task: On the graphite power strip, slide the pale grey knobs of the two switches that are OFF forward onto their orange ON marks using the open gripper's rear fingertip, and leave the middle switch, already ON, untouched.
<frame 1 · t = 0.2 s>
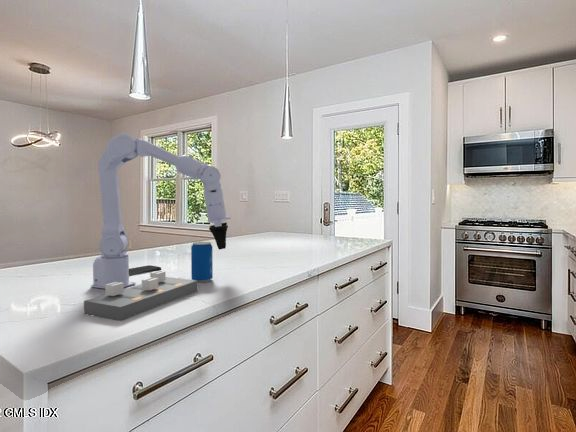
hand: (222, 247, 110), 11 cm above the counter, tool pointing down, fingers open, 7 cm apart
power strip: (147, 301, 87), on the counter
beverage can: (202, 281, 110), on the counter
switch c: (157, 276, 94), point 5 cm above the counter, slide at 0.0 cm
switch a: (114, 288, 81), point 5 cm above the counter, slide at 0.0 cm
switch b: (150, 283, 86), point 5 cm above the counter, slide at 4.0 cm
phone: (137, 273, 122), on the counter
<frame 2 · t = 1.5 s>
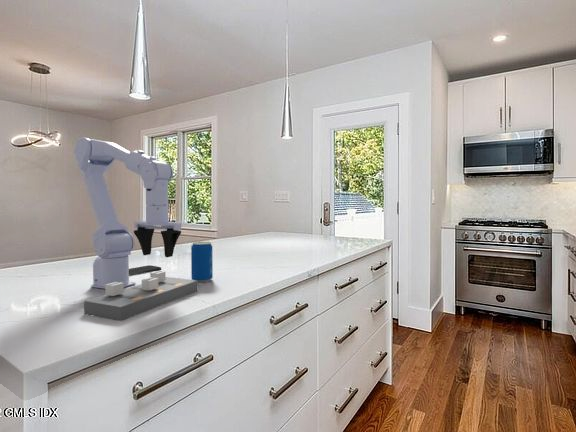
hand: (157, 255, 94), 10 cm above the counter, tool pointing down, fingers open, 7 cm apart
nothing on the counter moved.
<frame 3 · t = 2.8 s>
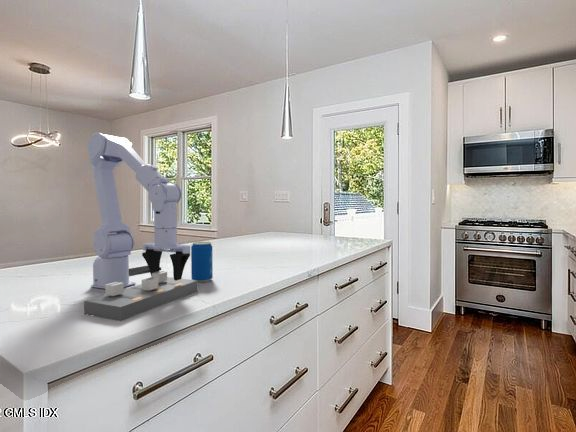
hand: (166, 278, 93), 4 cm above the counter, tool pointing down, fingers open, 7 cm apart
switch c: (159, 276, 94), point 5 cm above the counter, slide at 0.6 cm, touching gripper
everything else where it was.
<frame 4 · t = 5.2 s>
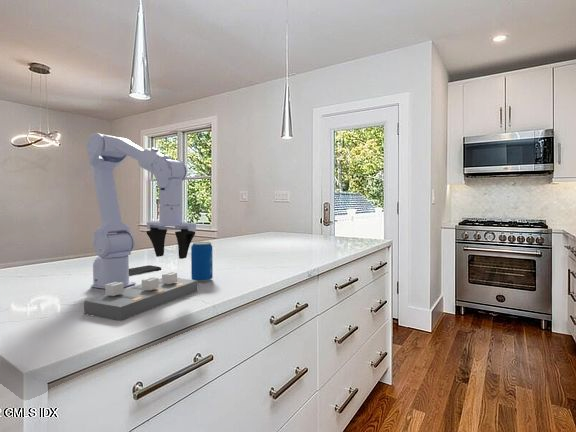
hand: (171, 257, 91), 10 cm above the counter, tool pointing down, fingers open, 7 cm apart
switch c: (169, 277, 93), point 5 cm above the counter, slide at 4.0 cm
everything else where it was.
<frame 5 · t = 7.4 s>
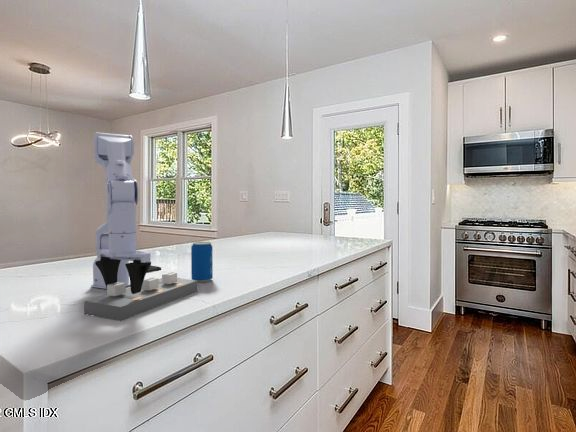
hand: (123, 291, 80), 4 cm above the counter, tool pointing down, fingers open, 7 cm apart
switch a: (116, 288, 81), point 5 cm above the counter, slide at 0.6 cm, touching gripper
everything else where it was.
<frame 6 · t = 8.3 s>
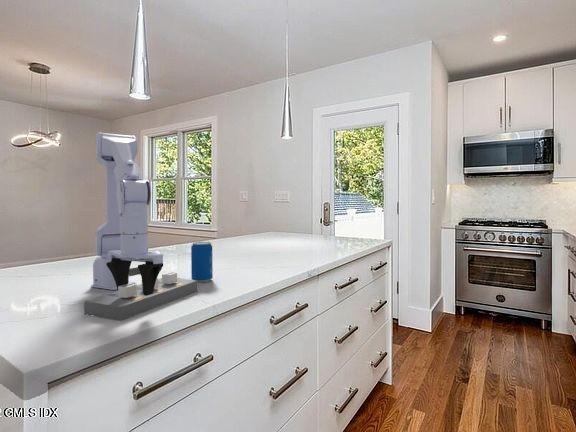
hand: (135, 292, 79), 4 cm above the counter, tool pointing down, fingers open, 7 cm apart
switch a: (127, 290, 80), point 5 cm above the counter, slide at 4.0 cm, touching gripper
everything else where it was.
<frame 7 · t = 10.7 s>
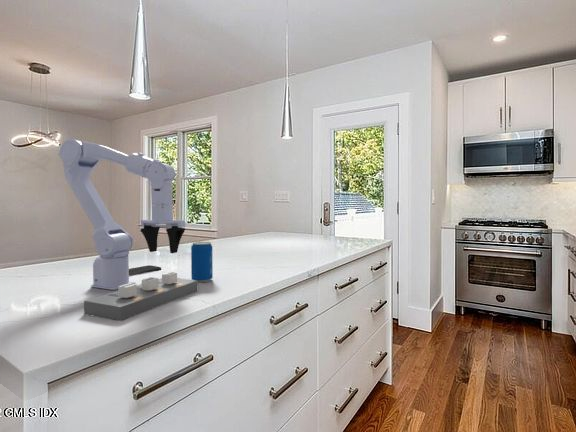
hand: (163, 252, 100), 10 cm above the counter, tool pointing down, fingers open, 7 cm apart
switch a: (127, 290, 80), point 5 cm above the counter, slide at 4.0 cm
everything else where it was.
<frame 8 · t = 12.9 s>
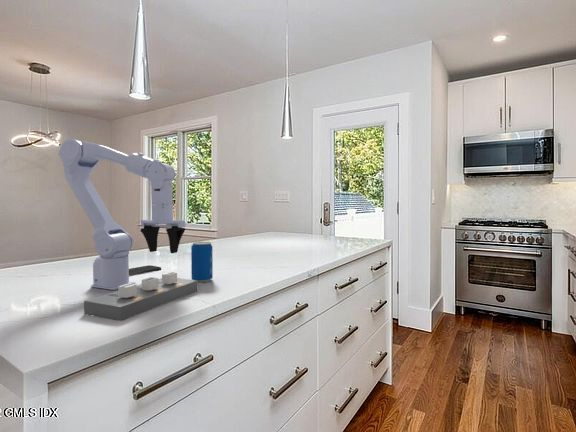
hand: (163, 252, 100), 10 cm above the counter, tool pointing down, fingers open, 7 cm apart
nothing on the counter moved.
at the end: switch a slide at 4.0 cm; switch c slide at 4.0 cm; switch b slide at 4.0 cm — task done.
